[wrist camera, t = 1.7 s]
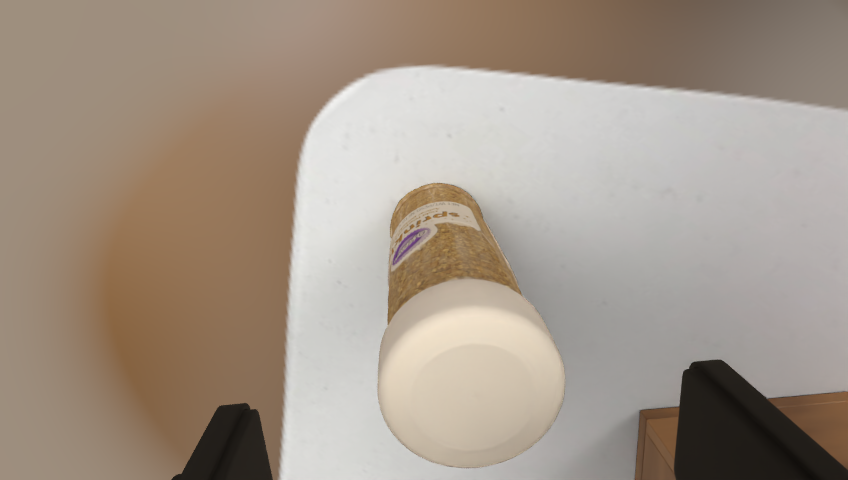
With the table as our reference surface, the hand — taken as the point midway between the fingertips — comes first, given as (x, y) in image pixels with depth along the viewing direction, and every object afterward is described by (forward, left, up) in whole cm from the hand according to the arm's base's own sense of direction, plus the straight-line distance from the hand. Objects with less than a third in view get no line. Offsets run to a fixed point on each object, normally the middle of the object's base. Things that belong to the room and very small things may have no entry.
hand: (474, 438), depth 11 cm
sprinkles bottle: (0, 0, -15) cm, 15 cm away
